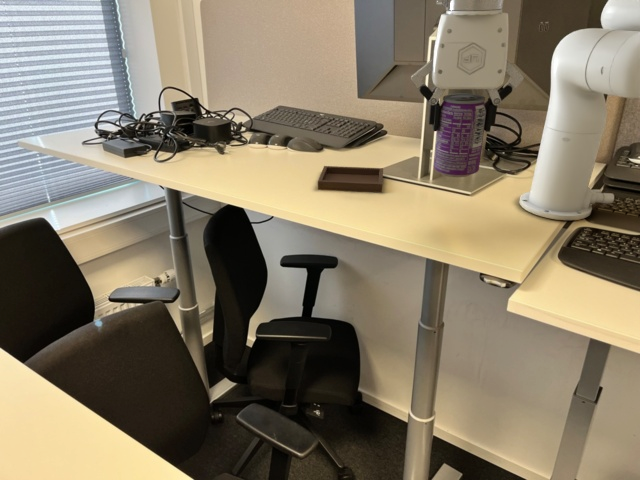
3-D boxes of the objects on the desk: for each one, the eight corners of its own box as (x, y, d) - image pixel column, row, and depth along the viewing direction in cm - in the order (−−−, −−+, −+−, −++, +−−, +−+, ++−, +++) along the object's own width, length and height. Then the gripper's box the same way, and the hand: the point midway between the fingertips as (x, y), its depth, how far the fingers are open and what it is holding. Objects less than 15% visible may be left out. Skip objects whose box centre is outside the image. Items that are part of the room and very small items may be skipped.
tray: (382, 176, 107) (383, 168, 106) (381, 192, 98) (382, 183, 97) (324, 173, 109) (324, 165, 108) (317, 189, 100) (317, 181, 99)
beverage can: (473, 165, 79) (483, 92, 74) (482, 180, 73) (493, 102, 67) (431, 165, 80) (437, 93, 74) (436, 179, 74) (443, 102, 68)
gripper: (412, 5, 63) (404, 135, 71) (548, 1, 60) (524, 136, 69) (410, 3, 69) (403, 123, 78) (533, 0, 67) (512, 123, 75)
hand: (460, 128), depth 73 cm, fingers closed on beverage can, 7 cm apart
